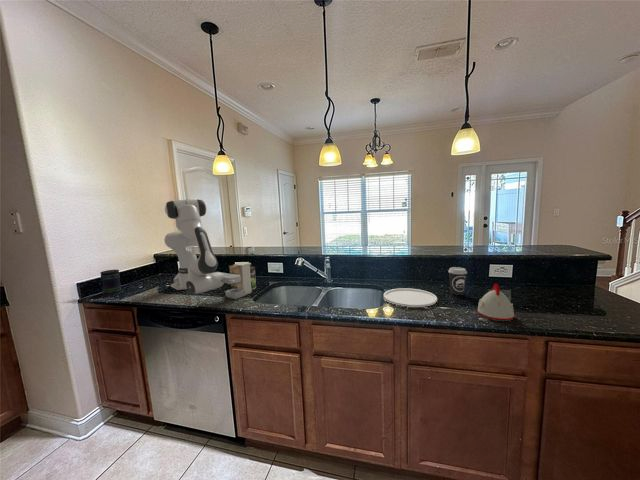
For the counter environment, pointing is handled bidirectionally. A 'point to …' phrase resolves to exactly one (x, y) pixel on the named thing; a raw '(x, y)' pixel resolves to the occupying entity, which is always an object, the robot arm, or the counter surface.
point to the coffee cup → (457, 280)
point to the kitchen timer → (496, 305)
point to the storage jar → (110, 282)
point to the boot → (245, 282)
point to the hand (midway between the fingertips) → (236, 274)
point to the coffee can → (252, 277)
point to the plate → (410, 297)
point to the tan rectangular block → (235, 270)
